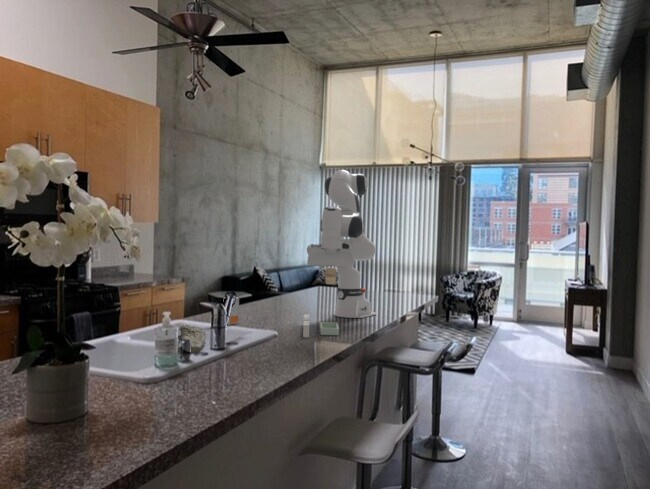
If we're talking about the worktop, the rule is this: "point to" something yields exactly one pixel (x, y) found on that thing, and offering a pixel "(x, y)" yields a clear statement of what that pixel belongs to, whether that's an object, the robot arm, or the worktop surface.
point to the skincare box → (234, 313)
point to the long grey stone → (194, 337)
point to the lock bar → (330, 276)
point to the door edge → (306, 326)
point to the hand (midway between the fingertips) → (330, 276)
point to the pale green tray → (329, 328)
